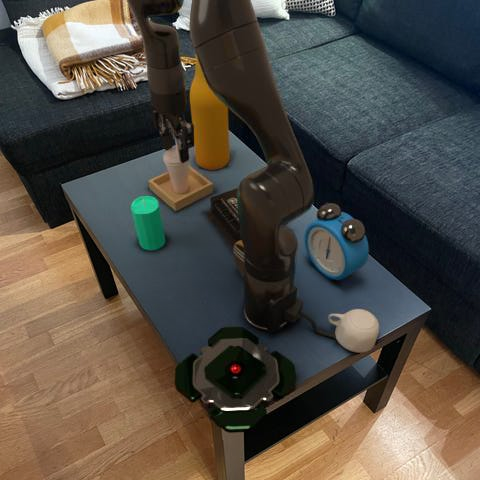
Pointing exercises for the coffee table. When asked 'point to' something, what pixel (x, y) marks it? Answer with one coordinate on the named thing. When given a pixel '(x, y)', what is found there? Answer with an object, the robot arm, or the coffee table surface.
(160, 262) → the coffee table surface
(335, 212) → the alarm clock
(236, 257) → the doughnut
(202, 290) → the coffee table surface
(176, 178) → the smoothie
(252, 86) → the robot arm
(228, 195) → the black electronic device
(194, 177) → the tray
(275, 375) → the four-lobed dark green device
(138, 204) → the candle
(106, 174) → the coffee table surface
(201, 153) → the beer bottle
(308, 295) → the coffee table surface
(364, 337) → the teacup
